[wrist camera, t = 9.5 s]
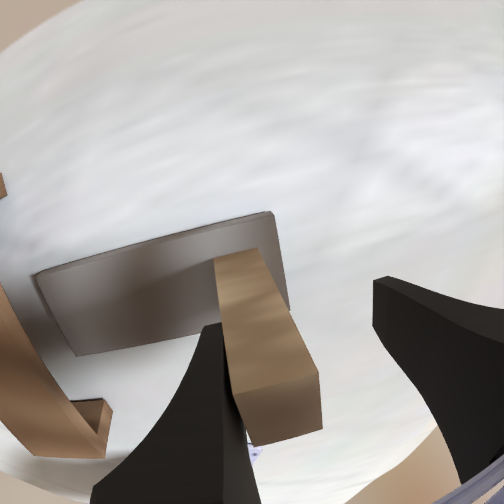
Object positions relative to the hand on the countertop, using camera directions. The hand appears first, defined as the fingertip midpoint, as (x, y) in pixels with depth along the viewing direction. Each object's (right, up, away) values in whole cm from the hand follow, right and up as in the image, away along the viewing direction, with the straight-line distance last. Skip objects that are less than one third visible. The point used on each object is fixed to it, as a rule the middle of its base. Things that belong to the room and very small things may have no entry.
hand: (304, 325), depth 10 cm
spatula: (-6, +1, +4) cm, 8 cm away
